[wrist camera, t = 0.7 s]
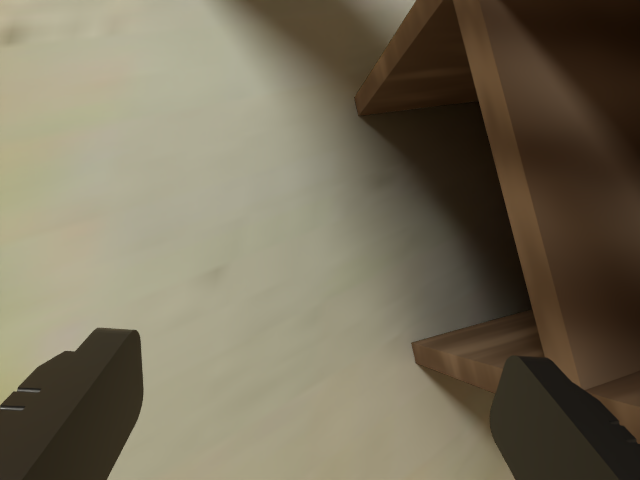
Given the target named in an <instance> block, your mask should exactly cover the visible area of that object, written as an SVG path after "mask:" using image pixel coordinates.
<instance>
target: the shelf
mask: <svg viewBox="0 0 640 480" xmlns="http://www.w3.org/2000/svg"><path fill="white" fill-rule="evenodd" d="M354 98H355V103H356V107H357V111H358V116H363V115H371V114H379V113H387V112H395V111H403V110H411V109H419V108H427V107H435V106H443V105H451V104H459V103H467V102H475V101H479V104H480V108H481V111H482V115H483V119H484V123H485V127H486V131H487V135H488V139H489V142H490V146H491V150H492V154H493V158H494V162H495V166H496V170H497V173H498V177H499V181H500V185H501V189H502V193H503V197H504V201H505V205H506V208H507V212H508V216H509V220H510V224H511V228H512V232H513V236H514V239H515V243H516V247H517V251H518V255H519V259H520V263H521V267H522V270H523V274H524V278H525V282H526V286H527V290H528V294H529V298H530V301H531V305H532V309H531V310H527V311H524V312H520V313H516V314H513V315H509V316H506V317H502V318H498V319H495V320H491V321H488V322H484V323H480V324H477V325H473V326H470V327H466V328H463V329H459V330H455V331H452V332H448V333H445V334H441V335H437V336H434V337H430V338H427V339H423V340H419V341H416V342H412V343H411V344H412V348H413V352H414V357H415V361H416V363H417V364H420V365H422V366H425V367H427V368H430V369H433V370H435V371H438V372H440V373H443V374H446V375H448V376H451V377H453V378H456V379H459V380H461V381H464V382H466V383H469V384H472V385H474V386H477V387H479V388H482V389H485V390H487V391H490V392H492V393H495V394H496V390H497V387H498V384H499V380H500V377H501V374H502V371H503V367H504V364H505V362H506V360H507V359H508V357H510V356H512V355H516V356H531V357H546V358H549V359H550V360H552V361H553V362H554V363H555V364H556V365H557V366H558V368H559V369H560V370H561V371H562V372H563V373H564V374H565V375H566V376H567V377H568V378H569V379H570V380H571V381H572V383H575V384H576V385H578V386H579V387H581V388H582V389H583V390H585V391H586V392H588V393H589V394H591V395H592V396H594V397H595V398H597V399H598V400H599V401H600V402H601V403H602V404H603V405H604V406H605V407H606V408H607V409H608V410H609V411H610V412H611V413H612V414H613V415H614V416H615V417H616V418H617V419H618V420H619V424H620V425H622V426H624V427H625V428H626V429H627V430H628V431H629V432H630V433H631V434H632V435H633V436H634V437H635V438H636V439H637V443H638V444H640V0H416V2H415V3H414V5H413V6H412V8H411V10H410V11H409V13H408V14H407V16H406V17H405V19H404V21H403V22H402V24H401V25H400V27H399V28H398V30H397V32H396V33H395V35H394V36H393V38H392V39H391V41H390V42H389V44H388V46H387V47H386V49H385V50H384V52H383V53H382V55H381V57H380V58H379V60H378V61H377V63H376V64H375V66H374V68H373V69H372V71H371V72H370V74H369V75H368V77H367V79H366V80H365V82H364V83H363V85H362V86H361V88H360V89H359V91H358V93H357V94H356V96H355V97H354Z"/></svg>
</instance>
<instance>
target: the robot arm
mask: <svg viewBox="0 0 640 480" xmlns="http://www.w3.org/2000/svg"><path fill="white" fill-rule="evenodd" d="M142 401H143V373H142V357H141V341H140V335H139V333H138V331H137V330H127V329H111V328H97V329H95V330H94V331H93V332H92V333H91V334H90V335H89V337H88V338H87V339H86V340H85V341H84V342H83V343H82V344H81V345H80V347H79V348H78V349H77V350H76V351H75V352H74V351H64V352H63V353H61V354H59V355H57V356H56V357H54V358H52V359H51V360H49V361H47V362H46V363H44V364H42V365H40V366H39V367H37V368H36V369H35V370H34V371H33V372H32V373H31V374H30V376H29V377H28V378H27V379H26V380H25V381H24V382H23V383H22V384H21V385H20V386H19V387H18V390H17V392H13V393H12V394H11V395H10V396H9V397H8V398H7V399H6V400H5V401H4V402H3V403H2V404H1V405H0V480H107V478H108V476H109V474H110V472H111V470H112V468H113V466H114V464H115V462H116V461H117V459H118V457H119V455H120V453H121V451H122V449H123V447H124V445H125V443H126V441H127V439H128V437H129V435H130V433H131V431H132V430H133V428H134V426H135V424H136V422H137V419H138V417H139V414H140V410H141V406H142ZM490 428H491V432H492V436H493V438H494V441H495V443H496V445H497V446H498V448H499V450H500V452H501V454H502V456H503V457H504V459H505V461H506V463H507V465H508V467H509V468H510V470H511V472H512V474H513V476H514V477H515V479H516V480H640V444H638V443H637V439H636V438H635V437H634V436H633V435H632V434H631V433H630V432H629V431H628V430H627V429H626V428H625V427H624V426H622V425H620V424H619V420H618V419H617V418H616V417H615V416H614V415H613V414H612V413H611V412H610V411H609V410H608V409H607V408H606V407H605V406H604V405H603V404H602V403H601V402H600V401H599V400H598V399H597V398H595V397H594V396H592V395H591V394H589V393H588V392H586V391H585V390H583V389H582V388H581V387H579V386H578V385H576V384H575V383H572V381H571V380H570V379H569V378H568V377H567V376H566V375H565V374H564V373H563V372H562V371H561V370H560V369H559V368H558V366H557V365H556V364H555V363H554V362H553V361H552V360H550V359H549V358H546V357H531V356H516V355H512V356H510V357H508V359H507V360H506V362H505V364H504V367H503V371H502V374H501V377H500V380H499V384H498V387H497V390H496V394H495V397H494V400H493V403H492V407H491V411H490Z"/></svg>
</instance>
